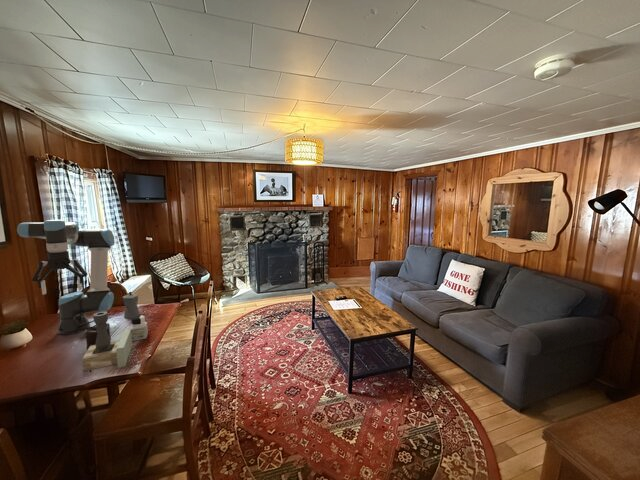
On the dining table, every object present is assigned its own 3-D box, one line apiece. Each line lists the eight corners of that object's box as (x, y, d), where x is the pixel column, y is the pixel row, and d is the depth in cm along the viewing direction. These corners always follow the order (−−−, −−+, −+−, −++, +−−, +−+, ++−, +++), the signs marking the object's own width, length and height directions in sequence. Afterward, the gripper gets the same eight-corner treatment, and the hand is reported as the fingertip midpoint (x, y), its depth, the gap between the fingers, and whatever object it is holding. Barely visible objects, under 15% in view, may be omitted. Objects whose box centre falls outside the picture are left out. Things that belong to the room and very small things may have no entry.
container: (130, 341, 157) (129, 320, 155) (132, 335, 163) (131, 315, 162) (146, 338, 160) (144, 318, 159) (147, 333, 167) (146, 313, 165)
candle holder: (102, 356, 140) (98, 311, 137) (115, 356, 141) (111, 311, 138) (93, 363, 134) (89, 316, 131) (106, 363, 135) (102, 316, 132)
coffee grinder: (111, 337, 161) (108, 308, 159) (110, 344, 153) (108, 314, 150) (76, 344, 152) (73, 314, 150) (74, 353, 143) (70, 321, 141)
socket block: (91, 356, 140) (90, 345, 140) (123, 350, 147) (123, 339, 146) (83, 370, 128) (81, 359, 127) (118, 363, 135) (118, 352, 134)
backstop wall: (125, 346, 150) (124, 330, 149) (132, 345, 152) (130, 329, 151) (117, 367, 131) (116, 348, 130) (125, 366, 133) (123, 347, 131)
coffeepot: (141, 317, 190) (140, 292, 188) (125, 320, 184) (123, 295, 182) (137, 310, 201) (135, 287, 199) (121, 314, 195) (120, 290, 193)
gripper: (18, 254, 123) (25, 298, 127) (88, 250, 136) (92, 290, 139) (25, 251, 130) (31, 293, 133) (91, 248, 142) (95, 286, 146)
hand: (62, 291), depth 136 cm, fingers open, 13 cm apart
